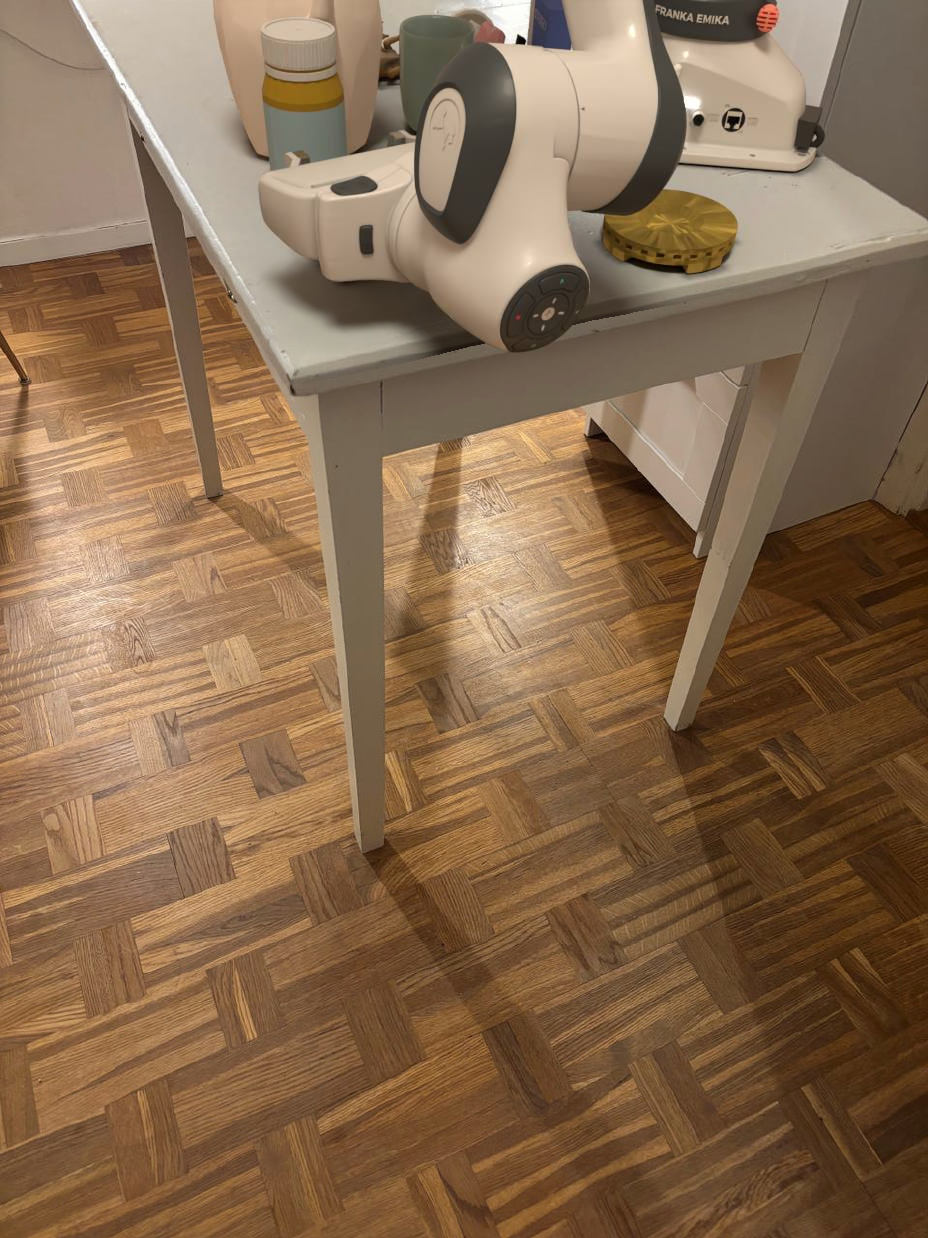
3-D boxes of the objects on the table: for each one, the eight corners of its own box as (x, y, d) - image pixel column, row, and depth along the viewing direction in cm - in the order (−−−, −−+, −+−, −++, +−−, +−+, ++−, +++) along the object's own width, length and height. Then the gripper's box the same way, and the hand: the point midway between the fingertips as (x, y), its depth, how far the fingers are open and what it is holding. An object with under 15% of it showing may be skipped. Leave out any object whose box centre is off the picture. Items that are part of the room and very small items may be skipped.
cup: (463, 147, 100) (467, 42, 93) (392, 139, 101) (390, 33, 94) (477, 121, 106) (482, 18, 98) (409, 112, 106) (409, 10, 99)
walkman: (562, 130, 104) (576, 5, 95) (537, 131, 104) (549, 5, 95) (545, 104, 109) (556, -18, 100) (521, 104, 109) (531, -18, 100)
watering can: (260, 214, 88) (232, -24, 74) (214, 109, 105) (184, -102, 91) (420, 197, 92) (421, -33, 78) (351, 98, 109) (342, -106, 95)
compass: (618, 203, 92) (621, 180, 91) (741, 224, 90) (746, 201, 88) (587, 258, 85) (590, 235, 83) (720, 283, 82) (726, 260, 81)
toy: (460, -14, 109) (493, 18, 98) (511, 20, 112) (548, 54, 102) (425, 60, 113) (453, 98, 103) (475, 90, 117) (507, 130, 106)
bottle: (312, 186, 93) (298, 10, 81) (364, 208, 90) (358, 29, 79) (259, 209, 89) (237, 27, 78) (312, 233, 86) (296, 48, 75)
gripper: (544, 148, 73) (451, 89, 81) (302, 202, 65) (225, 131, 73) (536, 228, 78) (449, 165, 85) (310, 287, 70) (237, 212, 78)
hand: (344, 150), depth 79 cm, fingers open, 8 cm apart
